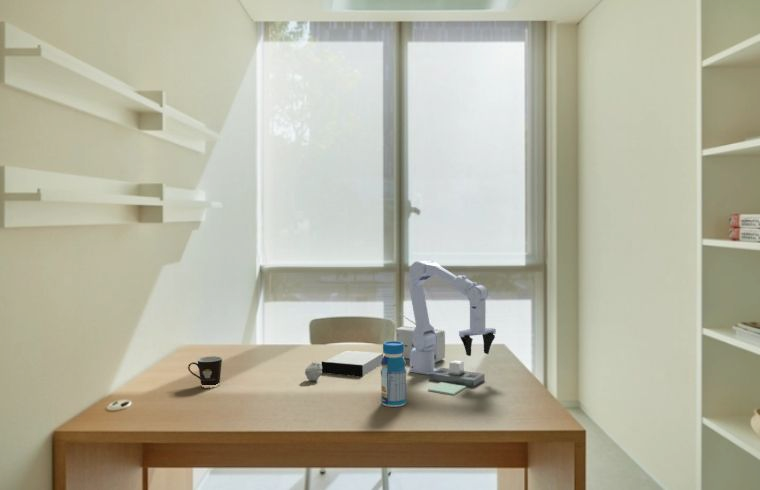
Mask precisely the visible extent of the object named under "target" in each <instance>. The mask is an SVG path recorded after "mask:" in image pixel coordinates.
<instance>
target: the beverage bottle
mask: <svg viewBox="0 0 760 490" xmlns="http://www.w3.org/2000/svg"><path fill="white" fill-rule="evenodd" d="M382 352H383V359H382V361H381V365H380V366H381V369H380V378H381V379H380V383H381V385H380V386H381V388H380V389H381V394H380V395H381V397H380V398H381V399H380V401H381V404H382V405H383V406H385V407H389V408H398V407H403V406H405V405H406V404H407V369H406V365H407V362H406V358H404V357H403V356H402V354H403V352H404V345H403V343H402V342H398V341H397V340H389V341H385V342H383V343H382Z"/></svg>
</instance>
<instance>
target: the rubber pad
mask: <svg viewBox="0 0 760 490" xmlns="http://www.w3.org/2000/svg"><path fill="white" fill-rule="evenodd" d="M465 389H467V386H462V385H456V384H450V383H444V382H438V383H436V384H435V385H433V386H431V387H430V388H429V387H428V389H427V391H428V392H433V393H438V394H445V395H450V396H451V395H452V396H455V395H457V394H459V393H460V392H461V391H463V390H465Z"/></svg>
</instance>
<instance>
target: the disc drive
mask: <svg viewBox="0 0 760 490" xmlns="http://www.w3.org/2000/svg"><path fill="white" fill-rule="evenodd" d="M383 357H384V353H382V352H371V351H359V350H358V351H355V350H345V351H342V352H340V353H338V354H336V355H334V356H332V357H331V358H328V359H326V360H325V361H321V365H322V371H321V373H322V372H323V373H322V374H327V373H331V374H330V375H337V374H341V375H340V376H347V375H350V377H357V376H359V377H358V378H362V377H364V376H365V374H366V375H367V374H368V372H369V373H370V372H371V370H372V371H373V370H375V369H376V367H377V368H378V367H379V366H381V361H382V359H383Z"/></svg>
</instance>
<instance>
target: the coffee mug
mask: <svg viewBox="0 0 760 490" xmlns="http://www.w3.org/2000/svg"><path fill="white" fill-rule="evenodd" d="M222 363H223V357H222V356H218V355H217V356H215V355H211V356H210V355H208V356H204V357H200V358H198V359H197V362H196V361H195V362H193V361H192V362H191V363H189V364H188V365H187V369H188V371H189V372H190V374H192V375H193V376H194V377H196V378H198V379H199V380H200V385H201V384H202V385H216V384H218V383H221V373H222ZM192 365H195V366H197V368H198V372H199V373H198V374H199V375H197V374H196V373H195V372H193V371H192V370H191V366H192Z"/></svg>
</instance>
